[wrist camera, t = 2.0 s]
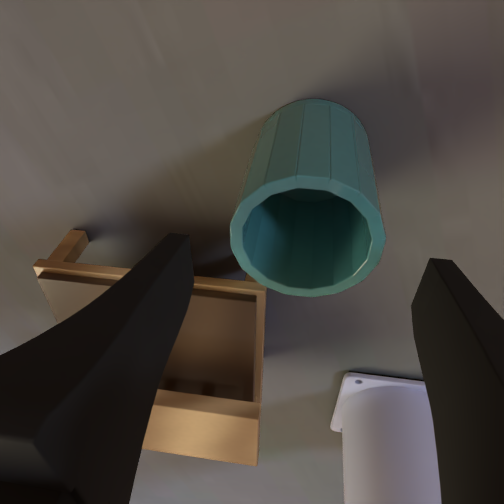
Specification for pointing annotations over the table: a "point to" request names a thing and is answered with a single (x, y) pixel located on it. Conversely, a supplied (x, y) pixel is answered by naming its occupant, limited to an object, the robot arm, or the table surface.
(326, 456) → the table surface
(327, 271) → the cup
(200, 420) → the wooden small stand
